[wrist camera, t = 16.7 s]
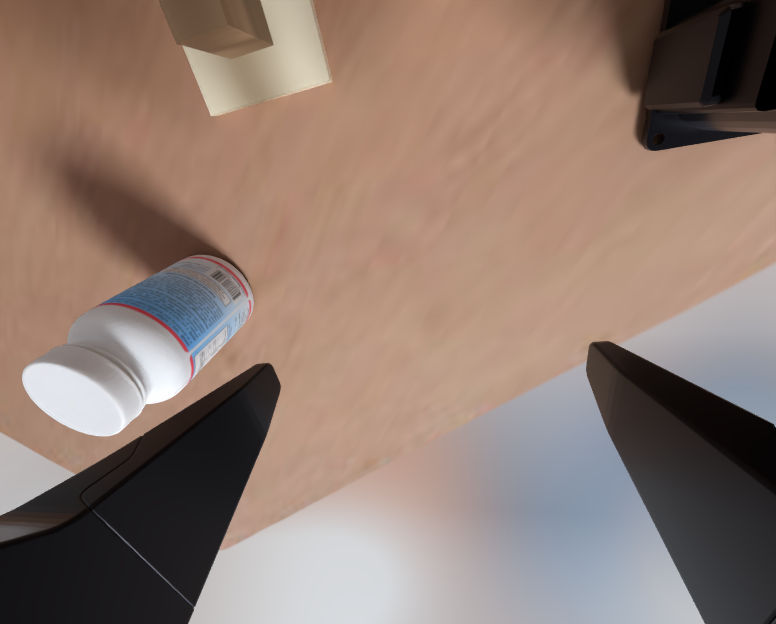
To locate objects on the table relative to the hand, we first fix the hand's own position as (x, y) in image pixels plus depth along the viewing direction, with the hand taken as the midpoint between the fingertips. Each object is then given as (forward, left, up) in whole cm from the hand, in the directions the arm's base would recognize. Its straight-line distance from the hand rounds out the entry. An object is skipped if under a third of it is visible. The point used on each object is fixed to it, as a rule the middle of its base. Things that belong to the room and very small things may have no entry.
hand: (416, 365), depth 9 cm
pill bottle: (+16, +2, -13) cm, 21 cm away
